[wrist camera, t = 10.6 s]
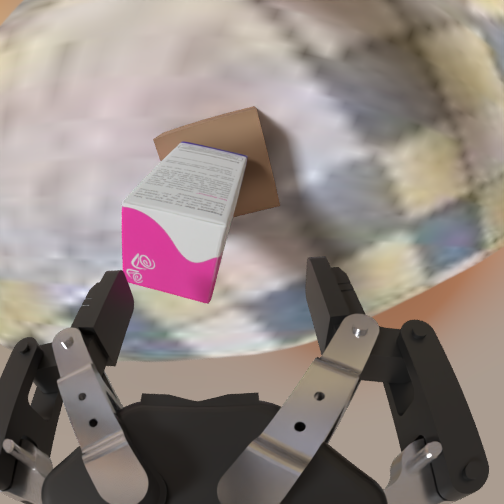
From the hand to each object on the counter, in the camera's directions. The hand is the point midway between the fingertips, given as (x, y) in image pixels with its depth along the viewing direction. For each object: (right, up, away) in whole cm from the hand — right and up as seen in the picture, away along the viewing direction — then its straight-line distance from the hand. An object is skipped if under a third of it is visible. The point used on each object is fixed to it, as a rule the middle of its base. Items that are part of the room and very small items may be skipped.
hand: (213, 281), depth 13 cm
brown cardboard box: (-2, +10, +16) cm, 19 cm away
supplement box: (-2, +8, +12) cm, 15 cm away
